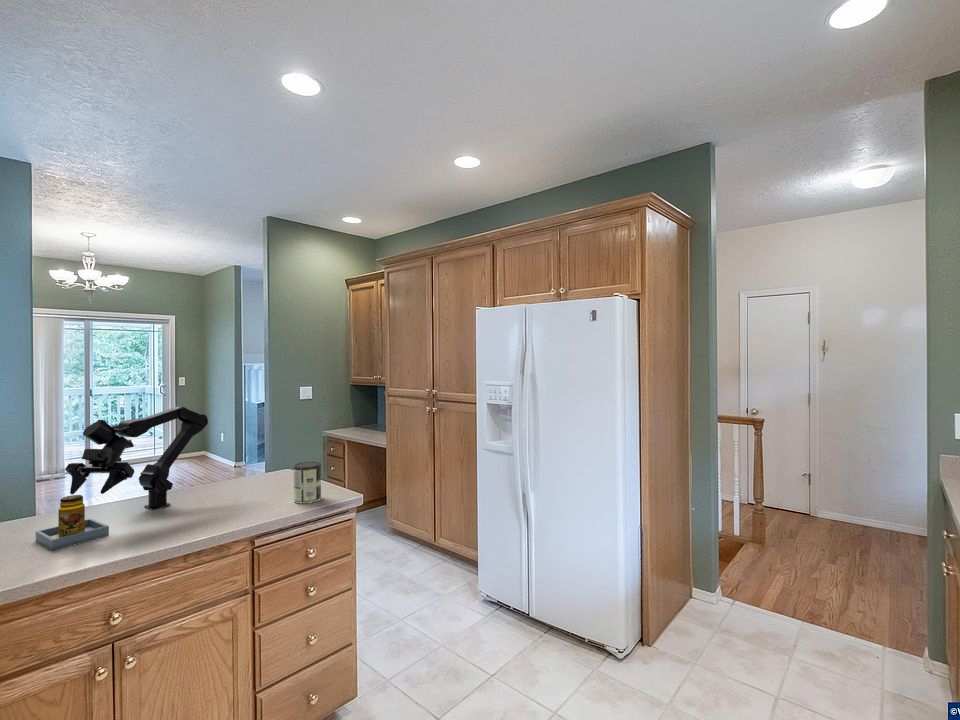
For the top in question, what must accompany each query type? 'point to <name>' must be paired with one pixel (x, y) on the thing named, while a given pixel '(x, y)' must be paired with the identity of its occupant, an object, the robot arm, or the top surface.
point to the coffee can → (307, 482)
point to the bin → (91, 532)
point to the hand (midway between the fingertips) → (86, 493)
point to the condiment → (71, 516)
